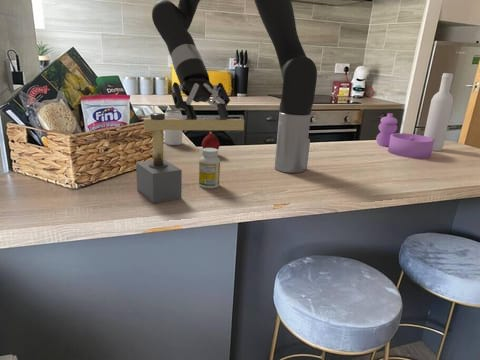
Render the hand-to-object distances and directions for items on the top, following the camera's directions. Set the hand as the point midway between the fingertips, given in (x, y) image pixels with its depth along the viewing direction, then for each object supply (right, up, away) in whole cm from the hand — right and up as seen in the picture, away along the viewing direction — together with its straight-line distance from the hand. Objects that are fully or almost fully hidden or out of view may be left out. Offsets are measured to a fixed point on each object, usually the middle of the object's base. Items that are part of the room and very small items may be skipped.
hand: (210, 120), depth 92 cm
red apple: (-3, -6, +36) cm, 37 cm away
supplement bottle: (-1, -16, +7) cm, 18 cm away
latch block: (-12, -18, -1) cm, 22 cm away
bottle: (+86, -2, +65) cm, 108 cm away
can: (-17, -1, +49) cm, 52 cm away
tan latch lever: (-4, -11, -1) cm, 11 cm away
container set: (+71, -3, +59) cm, 92 cm away
